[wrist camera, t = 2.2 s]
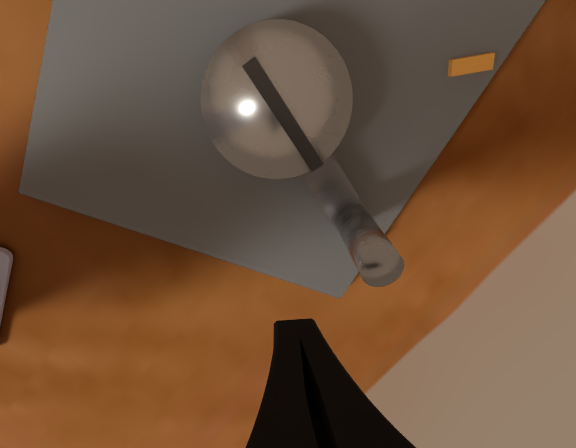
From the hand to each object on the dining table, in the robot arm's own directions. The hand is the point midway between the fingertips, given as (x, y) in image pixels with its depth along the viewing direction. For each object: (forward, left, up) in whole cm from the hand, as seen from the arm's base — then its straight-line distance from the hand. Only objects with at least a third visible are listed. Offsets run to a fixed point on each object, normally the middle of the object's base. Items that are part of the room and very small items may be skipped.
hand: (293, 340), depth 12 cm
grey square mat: (-3, +6, -9) cm, 11 cm away
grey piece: (-1, +5, -7) cm, 9 cm away
